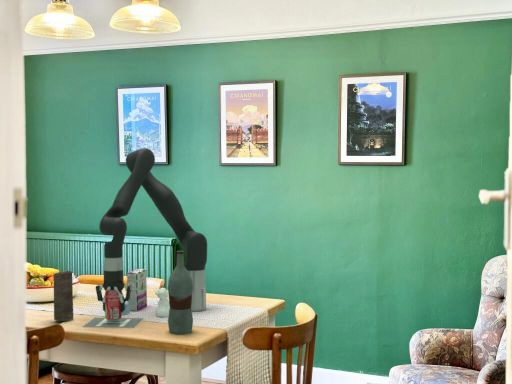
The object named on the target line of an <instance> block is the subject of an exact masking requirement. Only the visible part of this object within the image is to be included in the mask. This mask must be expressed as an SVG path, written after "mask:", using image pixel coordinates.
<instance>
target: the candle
mask: <svg viewBox="0 0 512 384" xmlns="http://www.w3.org/2000/svg"><path fill="white" fill-rule="evenodd" d="M52 277H53V320H54V321H56V322H71V321H74V298H73V297H74V293H73V271H72V270H71V271H70V270H67V271H66V270H59V271H58V272H55V273H53V275H52Z"/></svg>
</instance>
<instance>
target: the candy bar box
mask: <svg viewBox="0 0 512 384" xmlns="http://www.w3.org/2000/svg"><path fill="white" fill-rule="evenodd" d="M126 284H127V285H128V286H129V285H131V286H132V288H131V294H130V299H129V300H128V301H126V302H130V312H139V311H141V310H142V309H144V308H145V307H147V306H148V299H147V298H148V296H147V288H148V287H147V269H146V268H136V269H134V270H131V271H129V272H126Z"/></svg>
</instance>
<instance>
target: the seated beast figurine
mask: <svg viewBox="0 0 512 384" xmlns="http://www.w3.org/2000/svg"><path fill="white" fill-rule="evenodd" d="M154 294H155V295H156V297H157V298H159V299H158V302H157V307H156V309H155V315H156V317H157V318H168V316H169V309H170V306H169V294H168V289H166V287H160V288H159V289H158V291H157V290H156V291H155V290H154Z"/></svg>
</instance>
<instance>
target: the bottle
mask: <svg viewBox="0 0 512 384" xmlns="http://www.w3.org/2000/svg"><path fill="white" fill-rule="evenodd" d="M184 253H185V250H177V251H176V266H175V268H174V269H173V271H172V272H171V274H170V275H169V278H168V283H167V291H168V300H169V316H168V317H167V324H168V326H167V327H168V331H169V333H170V334H172V335H186V334H191V333H192V331H193V326H194V325H193V324H194V319H193V311H192V309H191V304H192V292H193V284H192V278H191V276H190V274H189V273H188V271H187V269H186V268H185V266H184V263H185V258H184V257H185V254H184Z"/></svg>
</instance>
